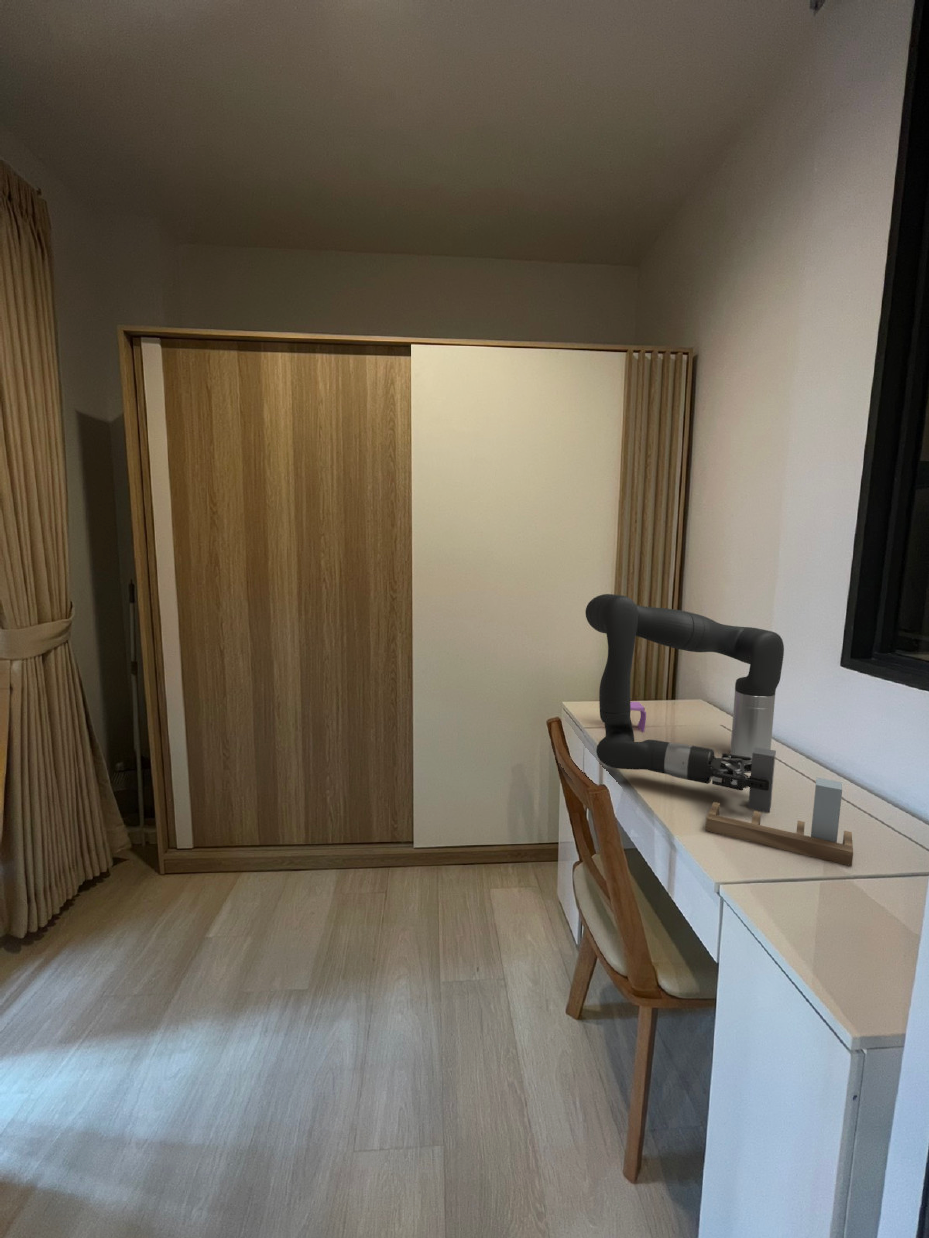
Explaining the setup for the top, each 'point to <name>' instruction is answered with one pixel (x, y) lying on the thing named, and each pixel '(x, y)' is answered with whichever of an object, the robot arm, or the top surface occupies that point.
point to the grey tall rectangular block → (763, 769)
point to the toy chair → (639, 707)
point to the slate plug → (826, 809)
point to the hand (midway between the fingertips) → (771, 778)
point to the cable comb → (781, 837)
